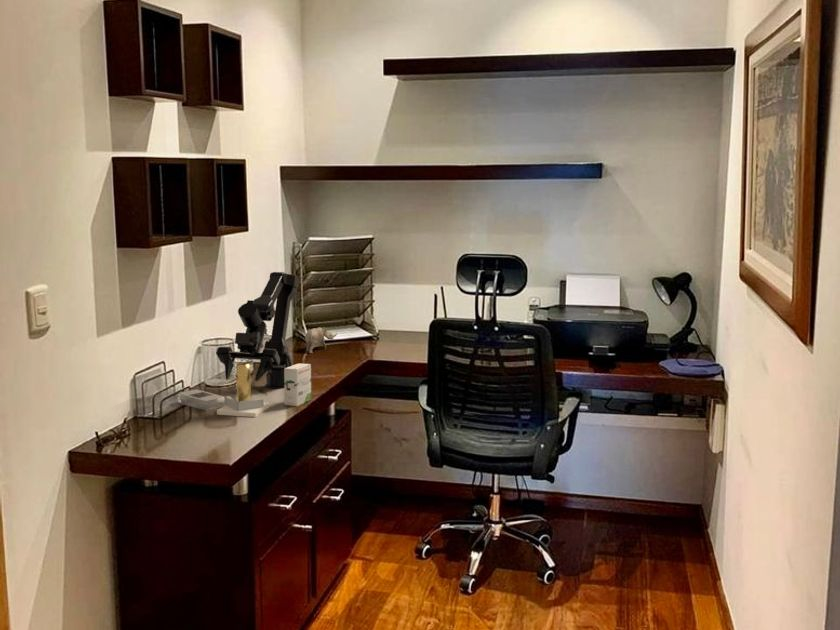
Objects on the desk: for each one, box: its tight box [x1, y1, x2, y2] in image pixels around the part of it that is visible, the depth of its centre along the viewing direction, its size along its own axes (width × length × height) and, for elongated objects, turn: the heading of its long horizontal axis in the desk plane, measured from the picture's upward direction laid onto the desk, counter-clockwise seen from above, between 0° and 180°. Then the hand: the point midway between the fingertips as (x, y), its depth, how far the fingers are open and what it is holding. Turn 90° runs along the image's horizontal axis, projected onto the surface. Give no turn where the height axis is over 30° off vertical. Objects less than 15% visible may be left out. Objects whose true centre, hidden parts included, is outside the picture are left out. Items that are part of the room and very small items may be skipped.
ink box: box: [283, 363, 312, 407], centre depth 261 cm, size 9×5×12 cm, turn 156°
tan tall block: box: [235, 362, 252, 401], centre depth 251 cm, size 4×4×13 cm
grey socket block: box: [179, 389, 225, 412], centre depth 258 cm, size 14×7×3 cm, turn 52°
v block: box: [216, 395, 270, 418], centre depth 252 cm, size 12×12×4 cm
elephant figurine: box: [304, 326, 338, 354], centre depth 344 cm, size 8×14×15 cm
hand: (241, 379), depth 250 cm, fingers open, 9 cm apart
